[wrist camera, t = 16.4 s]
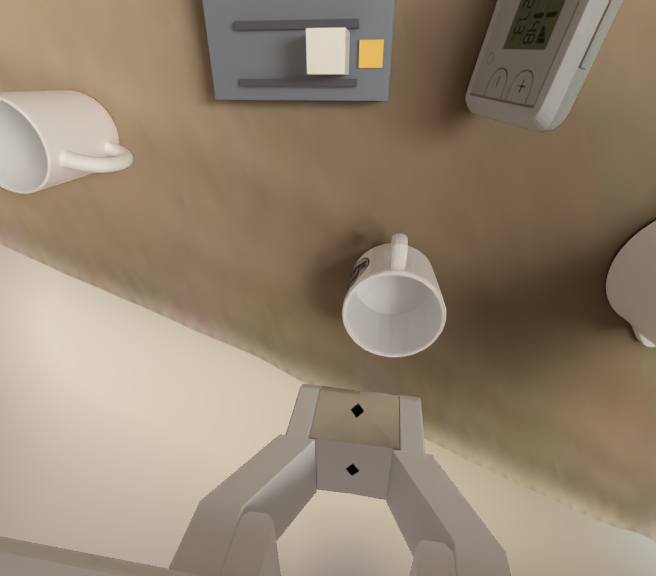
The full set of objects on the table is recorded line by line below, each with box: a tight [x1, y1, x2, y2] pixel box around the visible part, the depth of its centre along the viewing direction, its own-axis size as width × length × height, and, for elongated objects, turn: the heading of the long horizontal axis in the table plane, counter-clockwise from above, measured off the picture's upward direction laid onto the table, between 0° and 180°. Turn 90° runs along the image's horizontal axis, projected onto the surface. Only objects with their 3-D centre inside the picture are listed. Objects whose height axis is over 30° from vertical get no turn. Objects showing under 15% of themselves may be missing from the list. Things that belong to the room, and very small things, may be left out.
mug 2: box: [342, 233, 446, 357], centre depth 41 cm, size 13×10×8 cm
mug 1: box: [0, 90, 133, 194], centre depth 37 cm, size 12×8×10 cm
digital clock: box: [465, 0, 623, 132], centre depth 26 cm, size 16×9×11 cm, turn 158°
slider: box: [306, 27, 350, 75], centre depth 30 cm, size 3×3×4 cm
